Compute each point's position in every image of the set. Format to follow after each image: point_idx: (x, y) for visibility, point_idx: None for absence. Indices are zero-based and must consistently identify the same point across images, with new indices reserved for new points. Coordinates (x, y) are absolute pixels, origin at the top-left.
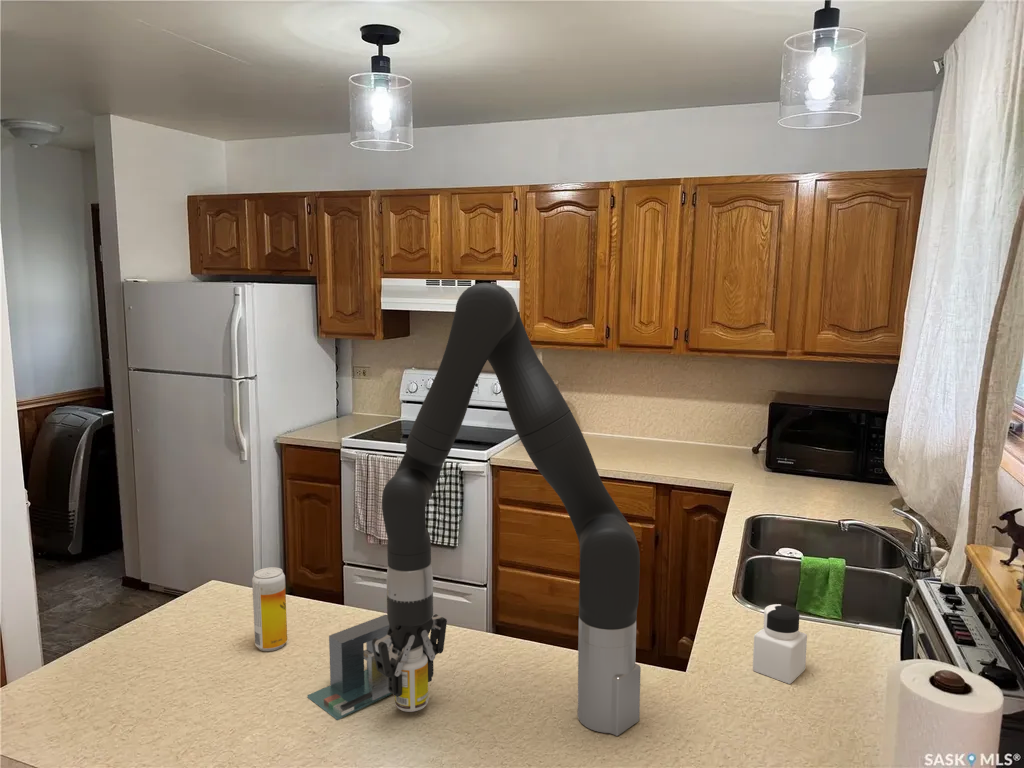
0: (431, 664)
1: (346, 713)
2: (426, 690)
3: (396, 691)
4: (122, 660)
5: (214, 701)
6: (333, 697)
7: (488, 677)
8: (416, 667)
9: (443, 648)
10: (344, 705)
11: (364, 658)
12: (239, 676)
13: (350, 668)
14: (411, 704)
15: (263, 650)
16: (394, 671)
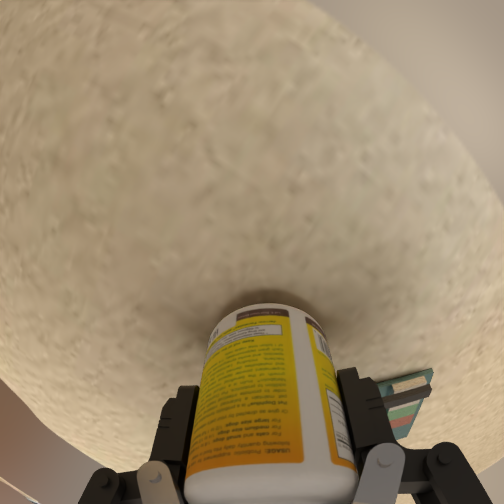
0: (165, 446)
1: (411, 378)
2: (226, 353)
3: (362, 386)
4: None
5: (469, 439)
6: (395, 423)
7: (26, 323)
8: (293, 473)
9: (90, 479)
10: (424, 394)
11: None
12: None
13: None
14: (302, 325)
15: None
16: (402, 465)
